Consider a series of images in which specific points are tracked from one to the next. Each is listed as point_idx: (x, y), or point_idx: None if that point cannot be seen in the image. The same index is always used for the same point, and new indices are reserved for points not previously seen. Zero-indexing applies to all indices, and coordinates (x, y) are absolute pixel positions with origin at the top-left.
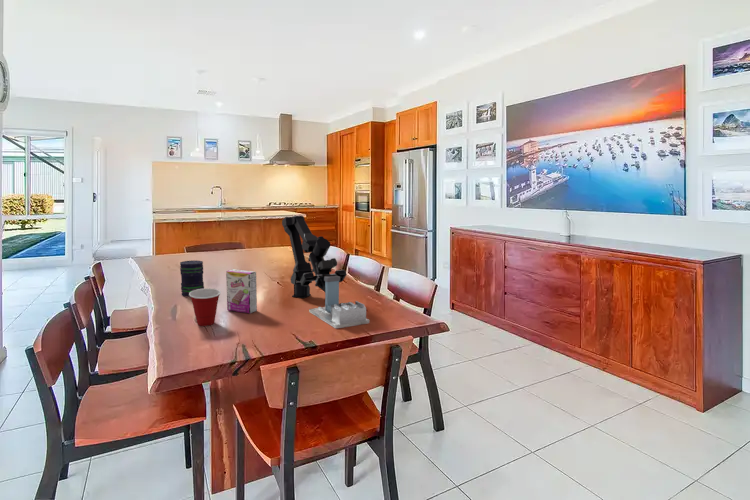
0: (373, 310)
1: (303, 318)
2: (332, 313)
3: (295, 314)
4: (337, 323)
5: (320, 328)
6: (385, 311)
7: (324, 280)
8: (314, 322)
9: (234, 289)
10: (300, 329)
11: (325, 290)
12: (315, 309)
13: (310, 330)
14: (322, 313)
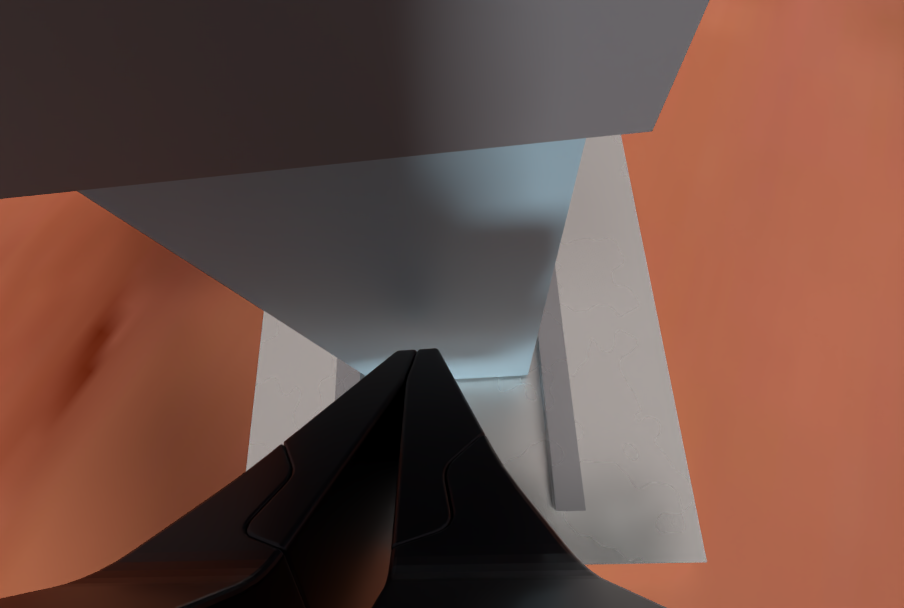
0: (56, 302)
1: (806, 325)
2: None
3: (898, 529)
4: None
5: (696, 32)
6: (5, 236)
7: (649, 71)
8: (712, 171)
9: None
10: (872, 53)
11: (550, 267)
12: (623, 501)
13: (787, 15)
14: (590, 298)
